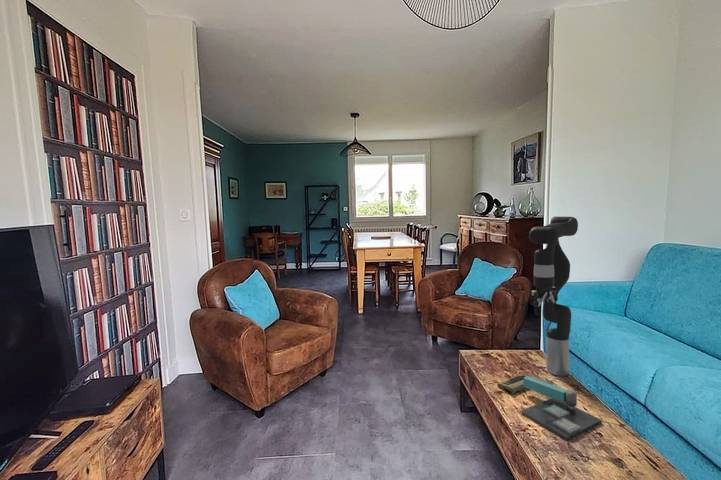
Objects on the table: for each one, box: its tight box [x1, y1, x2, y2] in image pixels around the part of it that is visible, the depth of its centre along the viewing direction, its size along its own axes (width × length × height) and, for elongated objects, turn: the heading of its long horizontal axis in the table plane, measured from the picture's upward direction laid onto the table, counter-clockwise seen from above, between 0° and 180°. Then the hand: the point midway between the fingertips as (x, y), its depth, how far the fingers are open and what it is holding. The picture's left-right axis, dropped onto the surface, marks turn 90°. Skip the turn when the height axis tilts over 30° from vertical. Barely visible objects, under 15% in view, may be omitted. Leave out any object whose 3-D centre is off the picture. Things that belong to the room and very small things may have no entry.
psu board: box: [520, 398, 603, 442], centre depth 126 cm, size 20×18×3 cm
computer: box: [497, 374, 528, 395], centre depth 151 cm, size 16×8×3 cm, turn 118°
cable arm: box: [524, 375, 578, 407], centre depth 137 cm, size 20×4×4 cm, turn 37°
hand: (544, 313), depth 141 cm, fingers open, 8 cm apart
